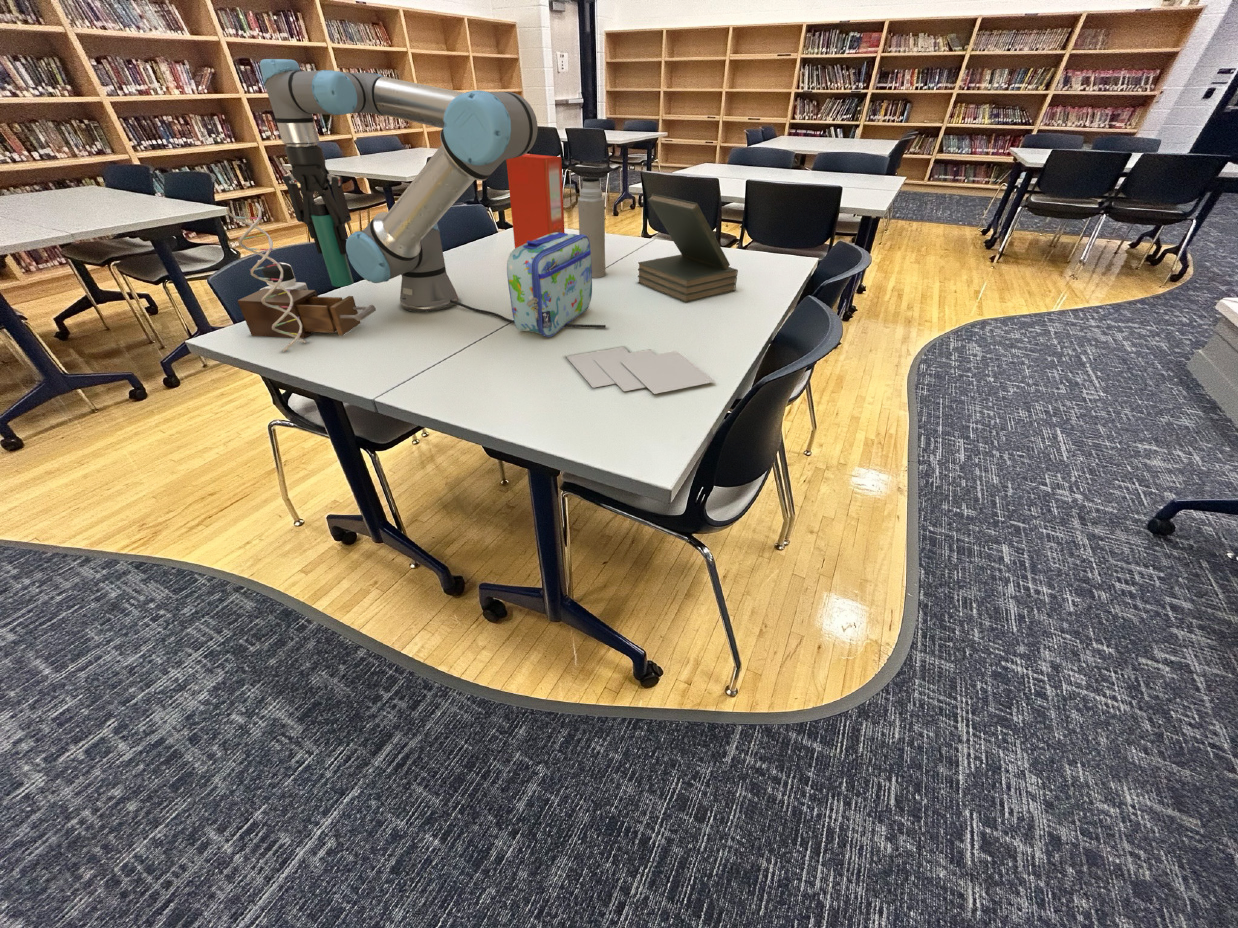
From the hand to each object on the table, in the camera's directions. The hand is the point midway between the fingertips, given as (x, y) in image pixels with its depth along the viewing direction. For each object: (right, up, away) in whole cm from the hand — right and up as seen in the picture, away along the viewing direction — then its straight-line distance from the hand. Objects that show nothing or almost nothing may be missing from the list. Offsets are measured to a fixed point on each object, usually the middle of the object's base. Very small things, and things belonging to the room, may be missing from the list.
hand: (333, 252), depth 133 cm
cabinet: (-10, -20, -2) cm, 22 cm away
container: (-14, -14, +7) cm, 21 cm away
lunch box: (+56, -17, +3) cm, 58 cm away
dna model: (-3, -26, -10) cm, 29 cm away
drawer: (+3, -20, -3) cm, 20 cm away
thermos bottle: (+63, +8, +39) cm, 75 cm away
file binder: (+44, +19, +54) cm, 72 cm away
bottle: (0, -6, +4) cm, 8 cm away
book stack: (+92, +1, +29) cm, 96 cm away
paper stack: (+76, -33, -20) cm, 85 cm away
